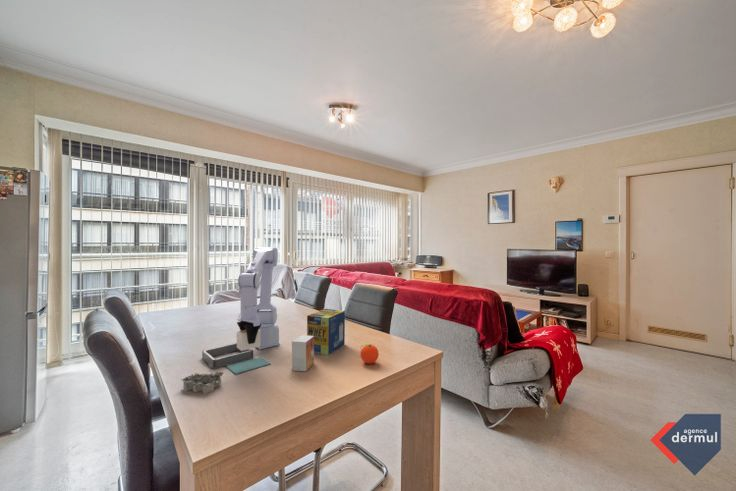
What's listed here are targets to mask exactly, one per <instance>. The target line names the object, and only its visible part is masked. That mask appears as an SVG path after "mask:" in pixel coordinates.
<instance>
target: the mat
mask: <svg viewBox="0 0 736 491" xmlns="http://www.w3.org/2000/svg"><path fill="white" fill-rule="evenodd" d="M270 365H271V362H270V361H268V360H267V359H265V358H263V357H262V356H258V357H253V358H251V359H247V360H244V361H240V362H236V363H233V364H229V365H225V367H226V368H227V369H228V370H229V371H230V372H232V373H233V375H235V376H236V375H239V374H240V375H241V374H243V373H245V372H249V371H252V370H256V369H259V368H262V367H266V366H270Z"/></svg>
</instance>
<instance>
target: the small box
mask: <svg viewBox="0 0 736 491" xmlns="http://www.w3.org/2000/svg"><path fill="white" fill-rule="evenodd" d="M314 364H315V353H314V336H307V334H305V335H302V334H300V336H298V337H297V338H295V339H294V340H292V341H291V370H292V371H295V372H296V371H298V372H307V371H308V370H309V369H310V368H311V367H312V366H313V365H314Z"/></svg>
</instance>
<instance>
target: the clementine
mask: <svg viewBox="0 0 736 491" xmlns="http://www.w3.org/2000/svg"><path fill="white" fill-rule="evenodd" d="M360 348H361V350H360V358H361V360H362V361H363V362H364V363H365V364H369V365H370V364H374V363H376V362H377V360H378V359H379V350H378V348H377V347H376V345H374V344H369V343H365V344H363V345H361V346H360Z"/></svg>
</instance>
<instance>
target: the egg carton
mask: <svg viewBox="0 0 736 491" xmlns="http://www.w3.org/2000/svg"><path fill="white" fill-rule="evenodd" d="M223 374H224V372H223V371H216V372H214V373H213V372H211V373H199V372H197V373H196V372H195V373H192V374H191V375H188V376H185V377H184V378H181V379H180V381H182V382H183V391H185V392H186V391H189V390H192V392H194V393H196V392H199V391H202V394H206V393H209V392H213V391H214V390H215V388H216V387H217V388H218V387H220V386H222V378H221V377H222V376H223Z"/></svg>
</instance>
